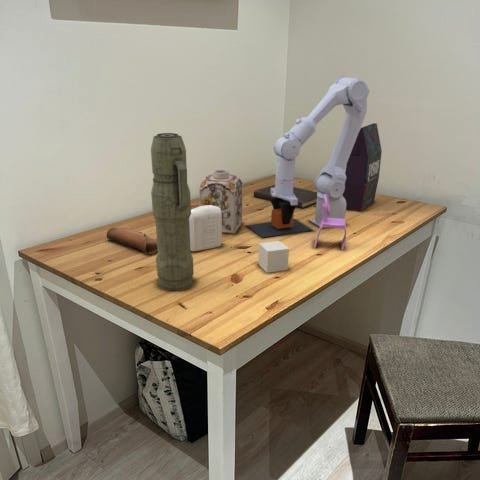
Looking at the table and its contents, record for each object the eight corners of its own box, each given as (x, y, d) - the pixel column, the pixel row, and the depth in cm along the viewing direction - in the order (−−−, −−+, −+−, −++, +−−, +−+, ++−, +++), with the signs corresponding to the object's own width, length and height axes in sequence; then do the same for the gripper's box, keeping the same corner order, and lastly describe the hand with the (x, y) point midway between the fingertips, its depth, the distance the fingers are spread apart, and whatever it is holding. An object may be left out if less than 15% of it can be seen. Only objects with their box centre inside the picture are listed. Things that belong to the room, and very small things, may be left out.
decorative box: (375, 201, 186) (387, 123, 172) (361, 212, 174) (373, 129, 160) (355, 198, 190) (365, 121, 176) (339, 208, 177) (349, 127, 164)
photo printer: (216, 242, 146) (216, 201, 140) (224, 246, 143) (223, 205, 137) (186, 248, 141) (184, 206, 135) (193, 253, 138) (191, 210, 132)
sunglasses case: (168, 245, 142) (158, 229, 136) (154, 263, 139) (143, 247, 134) (128, 232, 151) (117, 216, 146) (114, 248, 149) (102, 233, 144)
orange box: (286, 222, 160) (287, 207, 158) (292, 226, 156) (294, 211, 154) (271, 224, 158) (271, 209, 156) (277, 228, 154) (278, 213, 152)
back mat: (294, 220, 165) (294, 218, 165) (312, 231, 156) (312, 229, 156) (246, 226, 159) (246, 225, 159) (262, 238, 150) (262, 236, 149)
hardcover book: (278, 189, 200) (278, 183, 199) (325, 200, 187) (326, 194, 186) (253, 196, 190) (253, 191, 188) (301, 208, 176) (302, 202, 175)
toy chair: (344, 251, 141) (351, 200, 133) (314, 249, 142) (318, 198, 135) (344, 241, 148) (350, 192, 140) (315, 239, 149) (320, 190, 142)
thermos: (176, 296, 115) (168, 140, 97) (147, 280, 122) (134, 133, 104) (205, 285, 120) (201, 136, 103) (175, 271, 127) (167, 129, 110)
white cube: (278, 261, 134) (279, 240, 131) (287, 269, 129) (289, 248, 126) (258, 264, 132) (258, 243, 129) (266, 272, 127) (267, 251, 124)
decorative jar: (208, 220, 164) (207, 165, 155) (242, 222, 162) (243, 167, 153) (199, 231, 154) (197, 174, 145) (235, 234, 152) (235, 176, 143)
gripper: (262, 174, 154) (261, 216, 161) (284, 185, 143) (281, 229, 149) (282, 173, 157) (280, 214, 163) (305, 183, 145) (301, 227, 152)
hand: (282, 221), depth 157 cm, fingers closed on orange box, 4 cm apart
